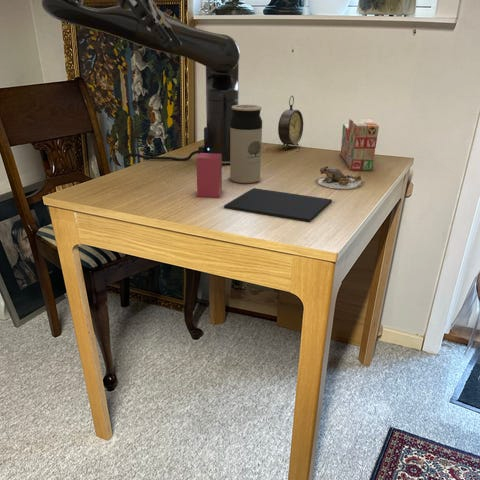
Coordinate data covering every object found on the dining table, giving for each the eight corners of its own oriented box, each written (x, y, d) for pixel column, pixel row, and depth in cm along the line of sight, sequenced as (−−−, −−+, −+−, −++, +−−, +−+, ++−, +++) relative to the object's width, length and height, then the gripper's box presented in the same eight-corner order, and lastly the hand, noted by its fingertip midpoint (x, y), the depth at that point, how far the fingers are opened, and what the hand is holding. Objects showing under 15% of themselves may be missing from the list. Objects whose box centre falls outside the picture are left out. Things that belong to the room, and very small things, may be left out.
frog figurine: (312, 186, 127) (313, 171, 125) (322, 175, 137) (323, 161, 135) (357, 191, 124) (359, 176, 122) (364, 180, 133) (366, 165, 131)
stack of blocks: (339, 154, 161) (344, 113, 155) (359, 154, 161) (364, 114, 155) (350, 170, 143) (356, 124, 136) (372, 170, 143) (379, 125, 136)
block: (197, 196, 118) (196, 157, 113) (200, 190, 122) (199, 152, 118) (218, 197, 117) (218, 158, 113) (221, 191, 122) (221, 153, 117)
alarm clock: (288, 151, 164) (291, 97, 156) (274, 149, 166) (276, 96, 158) (302, 145, 172) (306, 94, 164) (289, 143, 175) (292, 93, 166)
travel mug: (225, 177, 133) (225, 105, 124) (252, 175, 136) (254, 104, 127) (237, 185, 127) (238, 109, 118) (265, 182, 130) (268, 108, 121)
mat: (224, 207, 110) (224, 205, 110) (253, 190, 123) (253, 187, 123) (309, 222, 103) (309, 219, 103) (331, 201, 116) (331, 199, 115)
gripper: (120, -4, 108) (169, 61, 112) (94, -17, 95) (150, 56, 99) (144, -31, 105) (194, 36, 109) (120, -48, 92) (177, 28, 96)
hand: (173, 46), depth 104 cm, fingers open, 8 cm apart
